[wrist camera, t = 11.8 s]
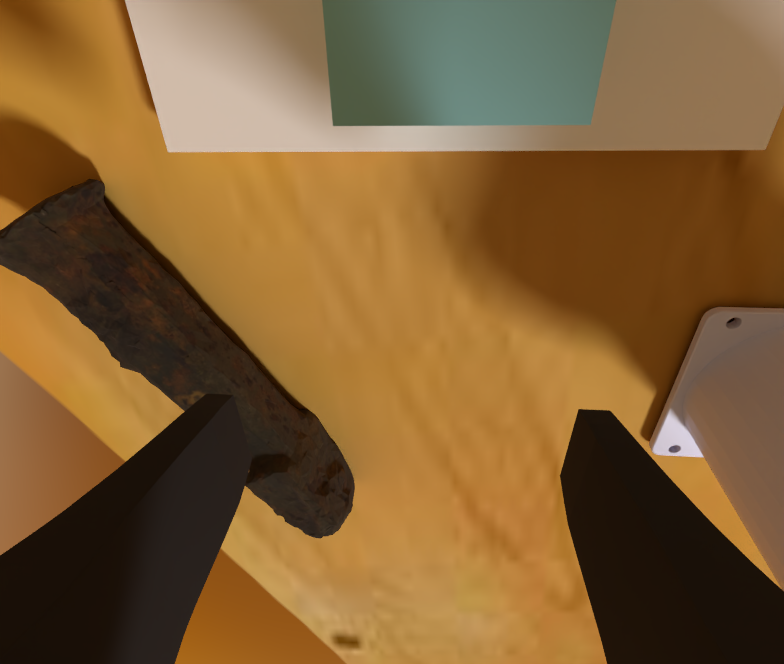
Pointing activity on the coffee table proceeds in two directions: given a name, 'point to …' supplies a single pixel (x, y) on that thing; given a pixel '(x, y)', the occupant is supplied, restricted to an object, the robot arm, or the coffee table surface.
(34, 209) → the hand tool
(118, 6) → the coffee table surface
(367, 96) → the block
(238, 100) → the board
